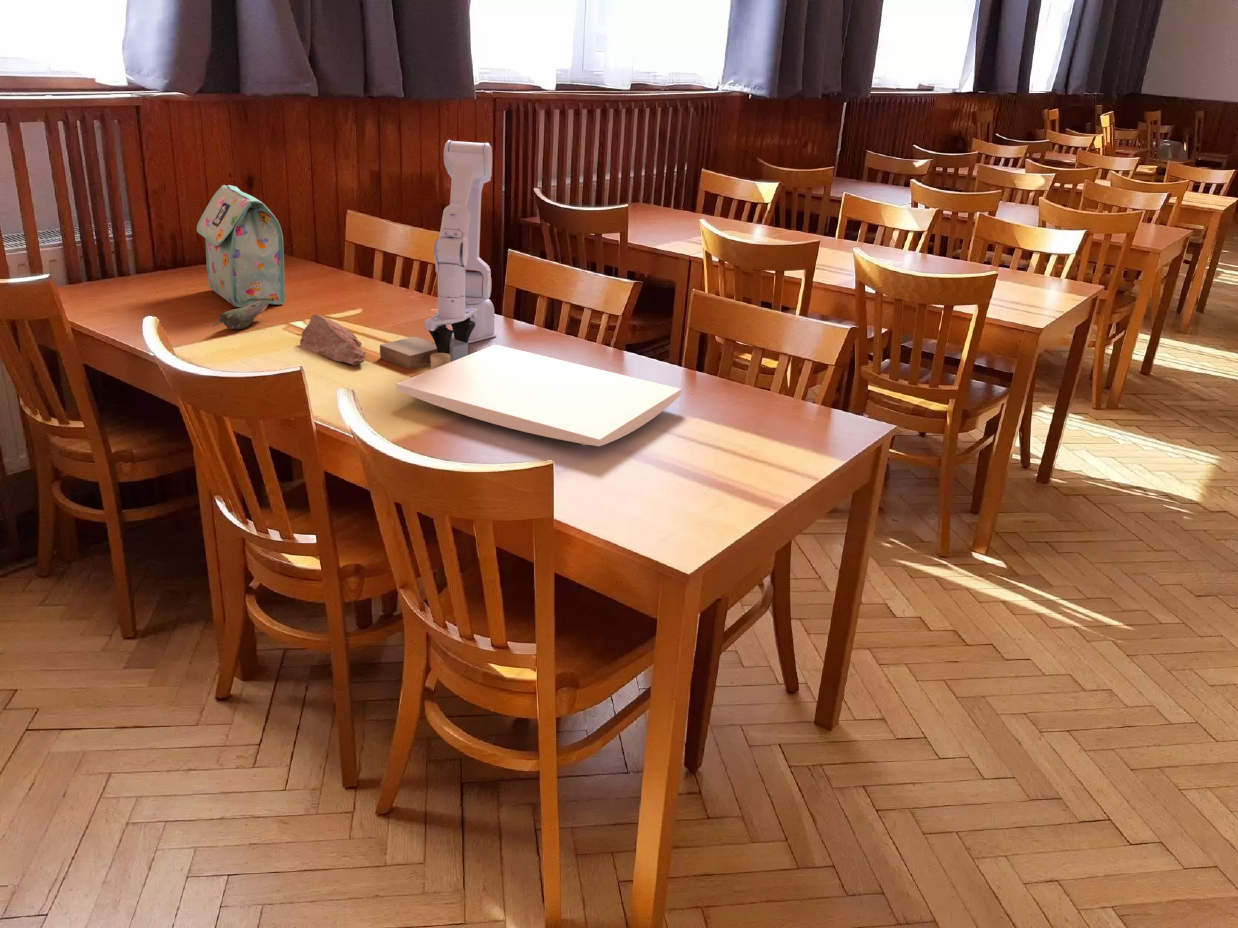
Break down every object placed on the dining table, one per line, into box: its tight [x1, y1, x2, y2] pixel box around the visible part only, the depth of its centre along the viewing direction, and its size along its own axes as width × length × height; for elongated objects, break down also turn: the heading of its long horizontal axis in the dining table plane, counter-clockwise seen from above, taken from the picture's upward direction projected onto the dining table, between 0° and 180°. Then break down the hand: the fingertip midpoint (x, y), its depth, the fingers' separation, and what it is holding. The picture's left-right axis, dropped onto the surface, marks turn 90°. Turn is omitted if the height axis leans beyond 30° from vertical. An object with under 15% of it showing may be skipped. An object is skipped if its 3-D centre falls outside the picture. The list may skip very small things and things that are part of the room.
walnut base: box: [379, 335, 438, 370], centre depth 213 cm, size 10×10×3 cm
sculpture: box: [210, 298, 270, 330], centre depth 226 cm, size 5×19×5 cm, turn 158°
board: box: [395, 344, 682, 447], centre depth 191 cm, size 45×32×5 cm
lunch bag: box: [196, 184, 286, 308], centre depth 245 cm, size 23×16×27 cm
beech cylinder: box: [430, 353, 450, 370], centre depth 203 cm, size 4×4×5 cm
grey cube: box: [449, 338, 469, 362], centre depth 213 cm, size 4×4×4 cm
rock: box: [299, 314, 366, 366], centre depth 216 cm, size 10×24×10 cm
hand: (452, 355), depth 213 cm, fingers closed on grey cube, 5 cm apart
